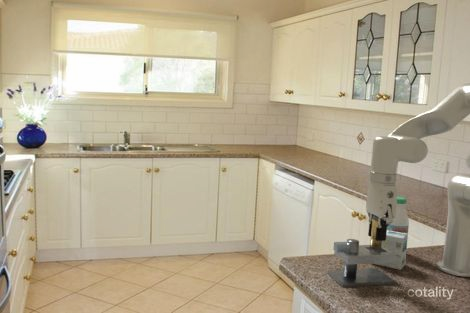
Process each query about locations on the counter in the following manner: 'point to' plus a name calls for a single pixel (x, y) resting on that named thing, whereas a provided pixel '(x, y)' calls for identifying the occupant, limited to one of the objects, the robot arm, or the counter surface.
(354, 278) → the grey metal stand
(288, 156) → the counter surface
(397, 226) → the milk bottle
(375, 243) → the pin
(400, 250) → the light bulb box
